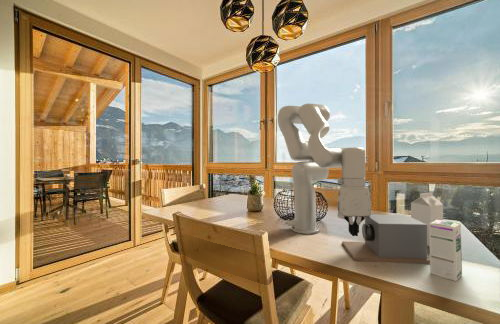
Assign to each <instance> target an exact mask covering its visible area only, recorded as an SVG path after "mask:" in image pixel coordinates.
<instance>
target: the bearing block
mask: <svg viewBox="0 0 500 324" xmlns="http://www.w3.org/2000/svg"><path fill="white" fill-rule="evenodd" d="M364 224H371V225H372V226H373V229H374V240H373V241H365V240H364V241H346V240H345V241H344V240H343V241H341V245H342V246H343V247H344V249H345V250H346V252H347V253H348V255H349V256H350V257H351V258H352V260H353V261H355V262H356V261H358V262H376V263H378V262H380V263H385V262H386V263H401V264H402V263H406V264H407V263H408V264H425V265H426V264H429V265H430V257H429V256H428V246H427V224H425V223H422V222H420V221H418V220H416V219H414V218H411V216H409V215H407V214H381V213H380V214H379V213H378V214H377V213H376V214H375V213H374V214H372V213H371V215H370V218H369V219H364Z"/></svg>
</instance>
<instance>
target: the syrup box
mask: <svg viewBox="0 0 500 324" xmlns="http://www.w3.org/2000/svg"><path fill="white" fill-rule="evenodd" d="M428 247H429V258H430V264H429V271H430V274H432V275H435V276H437V277H441V278H444V279H446V280H447V279H448V280H449V281H453V282H457V281H458V280H459V279H460V278H461V276H462V275H463V263H462V262H463V261H462V259H463V258H462V228H461V223H459V222H455V221H449V220H444V219H443V220H435V221H433V222H431V223H429V246H428Z"/></svg>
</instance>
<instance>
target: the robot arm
mask: <svg viewBox="0 0 500 324" xmlns="http://www.w3.org/2000/svg"><path fill="white" fill-rule="evenodd" d="M330 116H331V112H330V110H329V108H328V106H326V105H325V104H319V103H318V104H317V103H305V104H302V105H301V106H298V105H285V106H282V107H281V108H280V109H279V110H278V113H277V125H278V128H279V130H280V132H281V133H282V136H283V139H284V142H285V145H286V147H287V148H286V149H287V151H288V155H289V157H290V158H291V160H292V161H295V162H296V161H297V162H296V163H295V164H293V165H292V168H291V176H292V181H293V192H294V193H293V195H294V218H293V219H292V220H289V219H287V220H285V221H284V224H285V225H287V226H291V231H293V232H295V233H297V234H304V235H315V234H318V233H319V232H320V227H319V226H318V225H317V206H316V205H317V204H316V203H317V201H316V200H317V199H316V197H317V195H316V190H315V187H314V185H313V182H320V181H321V182H322V181H325V180H327V178H328V177H329V173H330V172H329V169H331V168H332V169H333V168H341V177H340V179H337V184H340V186H339V190H338V198H337V218H339V219H342V220H345V222H347V223H348V233H349V234H350V235H351V236H352V237H355V236H356V237H358V235H359V233H360V225H361V223H362V222H363V221H365V219H369V218H370V215H371V214H372V202H371V201H372V200H371V193H370V189H369V186H367V185H366V171H367V170H366V149H365V148H363V147H361V146H360V147H357V146H356V147H326V146H325V145H324V143H323V141H322V140H321V139H323V138H324V137H325V136H326V135H327V134H328V133H329V131H330V125H329V123H328V121H329V119H330ZM295 124H296V125H297V124H299V125H303V126H304V128H305V130H306V131H307V133H308V134H309V135H308V136H309V138H308V140H307V141H306V140H305V139H304V138H303V135H302V132H301V131H300V129H299V128H298V127H297V126H296V125H295ZM353 217H354V218H353Z"/></svg>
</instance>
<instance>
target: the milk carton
mask: <svg viewBox="0 0 500 324" xmlns="http://www.w3.org/2000/svg"><path fill="white" fill-rule="evenodd" d="M410 217H411V218H414V219H416V220H418V221H420V222H422V223H425V224H427V247H430V246H429V223H431V222H433V221H435V220H444V204H443V203H442V202H441V201H440V200H439V199H438V198H437V197H435V196H434V192H424V193H420V194H419V197H418V198H416V199H414V200H413V201H411V202H410Z"/></svg>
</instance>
